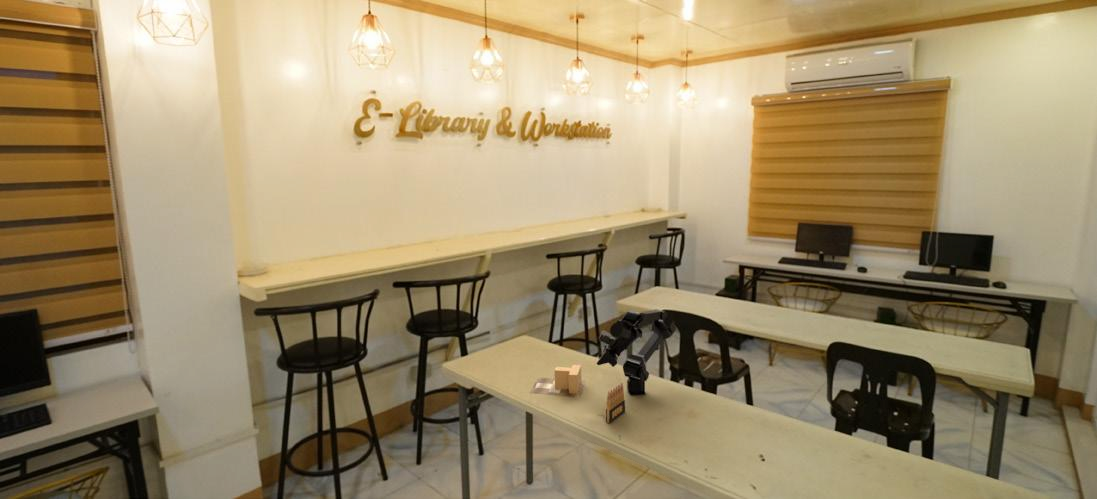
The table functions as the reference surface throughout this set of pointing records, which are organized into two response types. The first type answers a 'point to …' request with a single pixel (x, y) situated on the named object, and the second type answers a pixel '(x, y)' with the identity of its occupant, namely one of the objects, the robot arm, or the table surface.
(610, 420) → the ammunition clip
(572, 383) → the t block
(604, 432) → the table surface
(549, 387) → the board
